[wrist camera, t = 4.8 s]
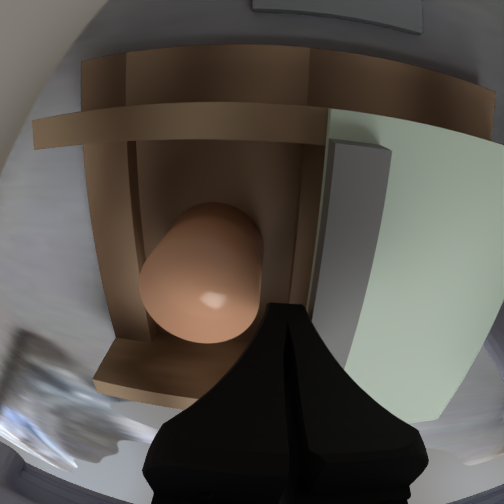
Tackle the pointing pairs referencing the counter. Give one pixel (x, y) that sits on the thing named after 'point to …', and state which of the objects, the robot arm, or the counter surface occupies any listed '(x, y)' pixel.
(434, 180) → the cover
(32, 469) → the robot arm
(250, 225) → the tan rounded cylinder
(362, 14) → the coaster
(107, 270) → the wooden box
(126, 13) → the counter surface
